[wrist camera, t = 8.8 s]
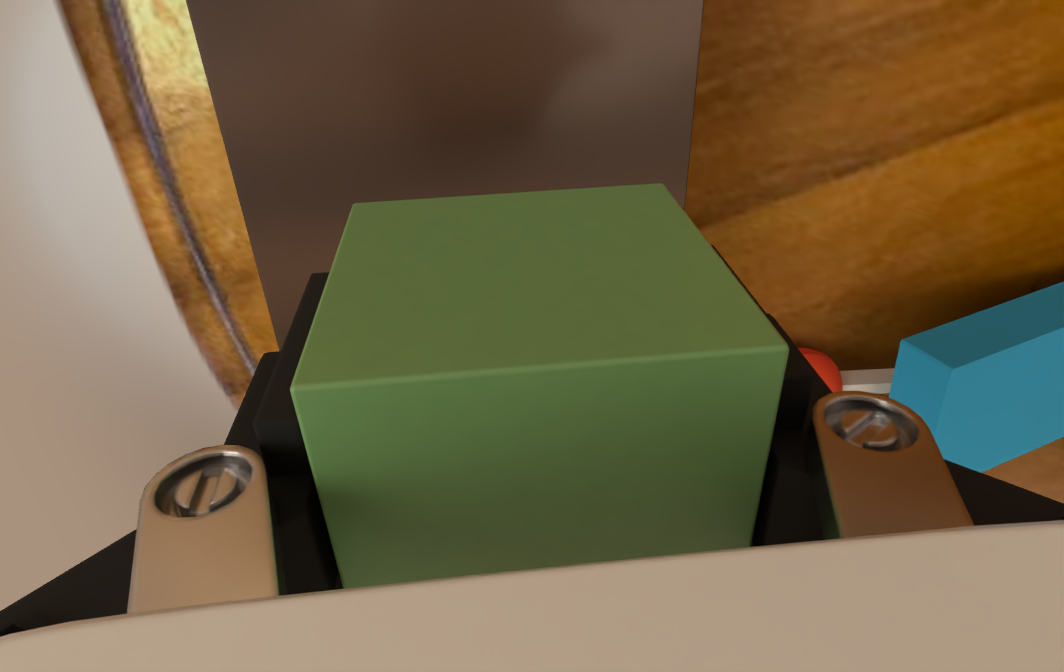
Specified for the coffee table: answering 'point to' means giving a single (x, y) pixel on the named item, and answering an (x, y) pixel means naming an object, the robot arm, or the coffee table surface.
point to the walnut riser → (436, 108)
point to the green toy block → (533, 386)
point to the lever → (977, 379)
